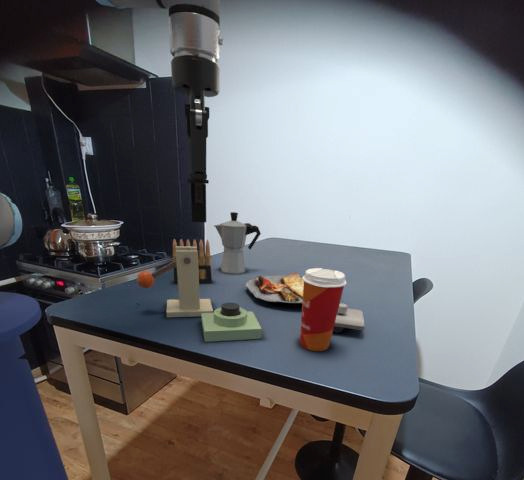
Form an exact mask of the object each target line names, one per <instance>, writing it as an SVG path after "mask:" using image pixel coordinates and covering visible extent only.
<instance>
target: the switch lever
mask: <svg viewBox="0 0 524 480" xmlns="http://www.w3.org/2000/svg"><path fill="white" fill-rule="evenodd" d="M187 250H190V248H189V249H187ZM176 266H177V263H176V260H175V261H173V260H172V261H171V262H169V263H167V264H165V265H164V266H161V267H160V268H158V269H156V270H155V271H153V272H150V271H148V270H142V271H140V272H139V273H138V274H137V275H136V276H137V277H136V282H137V284H138V286H139V287H141V288H144V289H149V288H152V287H153V286H154V284H155V282H156V279H155V278H158V277H160V276H161V275H163V274H165V273H167V272H169V271H171V270H172V269H173V268H174V267H176Z"/></svg>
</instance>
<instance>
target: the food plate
mask: <svg viewBox="0 0 524 480" xmlns="http://www.w3.org/2000/svg"><path fill="white" fill-rule="evenodd" d="M302 278H303V276H300V275H299V273H298V272H294V273H291V274H288V275H283V274H282V275H281V274H280V275H275V274H273V275H263V276H262V275H257V277H253V278H250V279H249V280H248V281H246V282H245V284H244V286H245V287H246V288H247V290H248V291H249V292H250V293H251V294H253V296H254V297H255V298H256V299H259V300H263V301H266V302H274V303H280V304H290V305H291V304H292V305H295V304H302V302H303V287H304V281H303V279H302Z"/></svg>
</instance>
